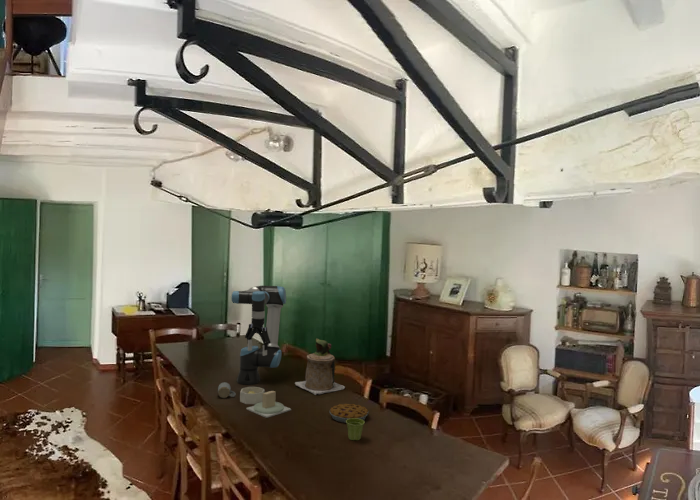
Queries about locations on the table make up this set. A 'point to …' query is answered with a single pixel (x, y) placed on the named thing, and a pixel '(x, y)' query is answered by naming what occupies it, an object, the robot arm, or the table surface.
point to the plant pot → (354, 428)
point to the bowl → (251, 395)
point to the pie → (348, 412)
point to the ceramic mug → (225, 390)
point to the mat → (268, 414)
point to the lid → (269, 404)
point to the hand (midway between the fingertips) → (257, 352)
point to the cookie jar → (320, 371)
